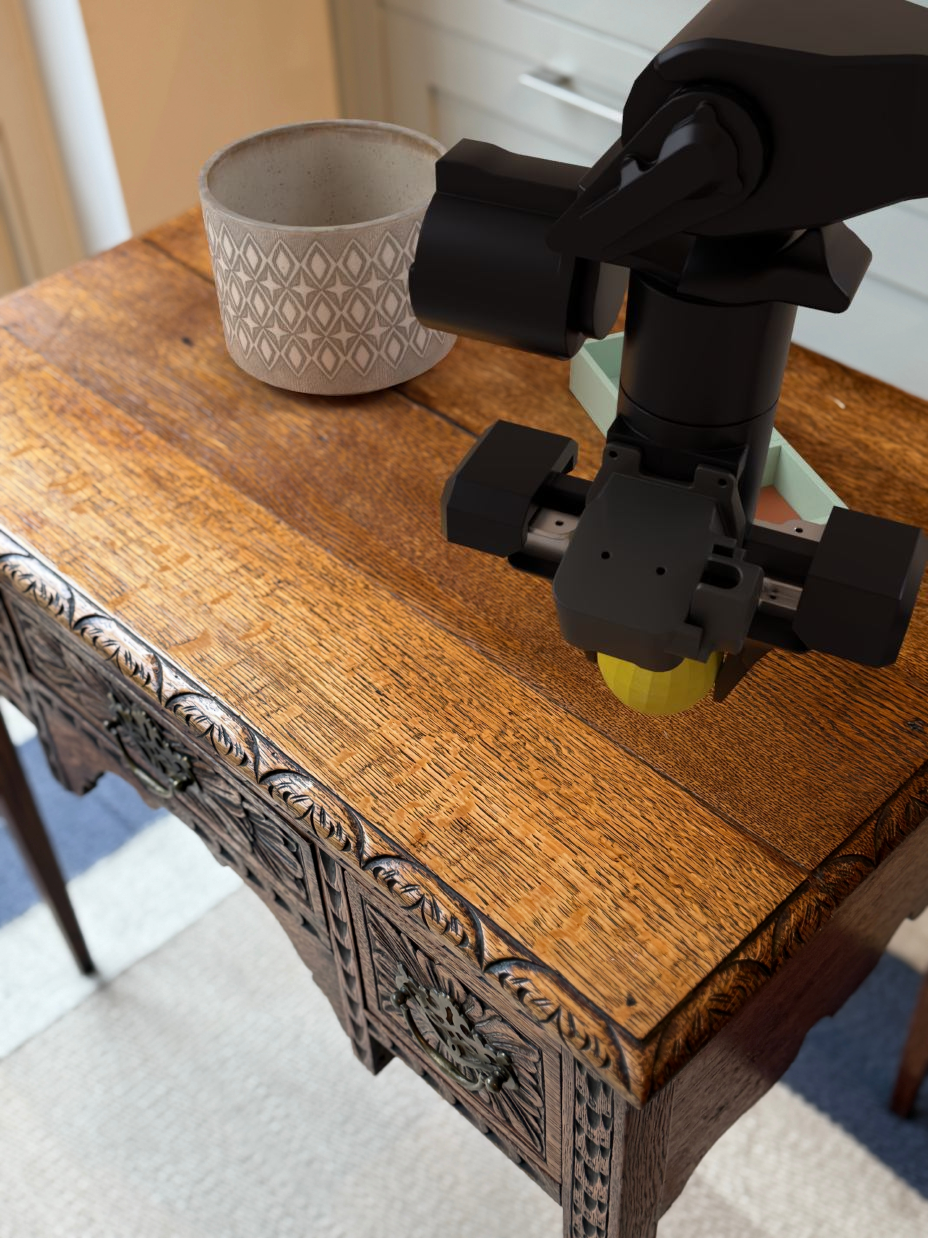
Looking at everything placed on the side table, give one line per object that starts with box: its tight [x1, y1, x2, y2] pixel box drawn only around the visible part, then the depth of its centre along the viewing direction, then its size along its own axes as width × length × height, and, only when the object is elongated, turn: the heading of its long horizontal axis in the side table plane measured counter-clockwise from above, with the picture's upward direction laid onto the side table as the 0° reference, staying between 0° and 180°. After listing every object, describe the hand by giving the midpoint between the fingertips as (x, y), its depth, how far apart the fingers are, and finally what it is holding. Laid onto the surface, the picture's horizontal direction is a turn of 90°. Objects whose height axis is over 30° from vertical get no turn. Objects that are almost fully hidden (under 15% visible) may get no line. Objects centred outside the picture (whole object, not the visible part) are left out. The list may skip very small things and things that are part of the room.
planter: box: [197, 118, 459, 397], centre depth 90 cm, size 19×19×14 cm
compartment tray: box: [568, 331, 850, 526], centre depth 82 cm, size 25×9×4 cm, turn 19°
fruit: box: [597, 650, 725, 717], centre depth 52 cm, size 6×6×8 cm
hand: (655, 675), depth 53 cm, fingers closed on fruit, 5 cm apart
